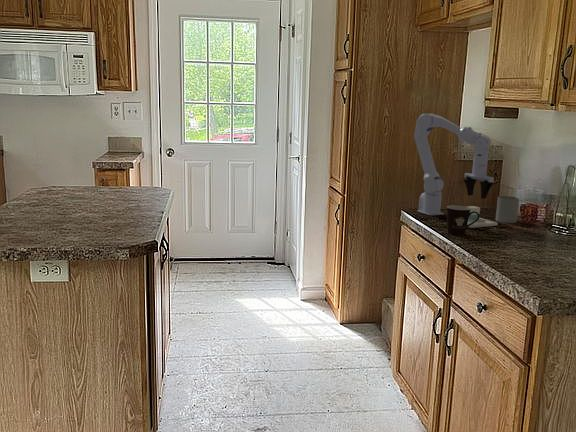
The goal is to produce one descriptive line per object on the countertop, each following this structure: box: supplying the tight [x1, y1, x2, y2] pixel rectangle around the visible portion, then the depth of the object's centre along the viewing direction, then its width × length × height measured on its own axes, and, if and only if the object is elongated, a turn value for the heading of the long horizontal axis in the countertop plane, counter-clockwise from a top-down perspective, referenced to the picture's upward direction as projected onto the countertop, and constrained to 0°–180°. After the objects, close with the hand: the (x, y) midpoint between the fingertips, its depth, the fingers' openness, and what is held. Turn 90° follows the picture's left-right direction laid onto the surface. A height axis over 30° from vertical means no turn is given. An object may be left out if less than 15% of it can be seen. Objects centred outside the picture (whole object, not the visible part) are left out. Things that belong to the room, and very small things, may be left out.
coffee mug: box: [446, 205, 480, 237], centre depth 213 cm, size 12×9×10 cm
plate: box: [467, 217, 498, 229], centre depth 234 cm, size 14×14×2 cm
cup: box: [495, 195, 520, 224], centre depth 240 cm, size 8×8×10 cm
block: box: [466, 205, 481, 220], centre depth 233 cm, size 4×4×6 cm
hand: (476, 196), depth 239 cm, fingers open, 7 cm apart
